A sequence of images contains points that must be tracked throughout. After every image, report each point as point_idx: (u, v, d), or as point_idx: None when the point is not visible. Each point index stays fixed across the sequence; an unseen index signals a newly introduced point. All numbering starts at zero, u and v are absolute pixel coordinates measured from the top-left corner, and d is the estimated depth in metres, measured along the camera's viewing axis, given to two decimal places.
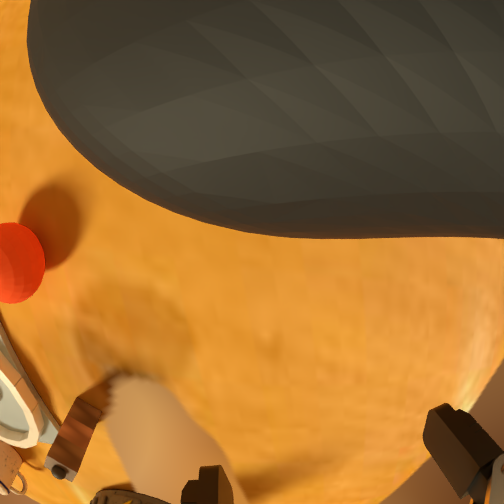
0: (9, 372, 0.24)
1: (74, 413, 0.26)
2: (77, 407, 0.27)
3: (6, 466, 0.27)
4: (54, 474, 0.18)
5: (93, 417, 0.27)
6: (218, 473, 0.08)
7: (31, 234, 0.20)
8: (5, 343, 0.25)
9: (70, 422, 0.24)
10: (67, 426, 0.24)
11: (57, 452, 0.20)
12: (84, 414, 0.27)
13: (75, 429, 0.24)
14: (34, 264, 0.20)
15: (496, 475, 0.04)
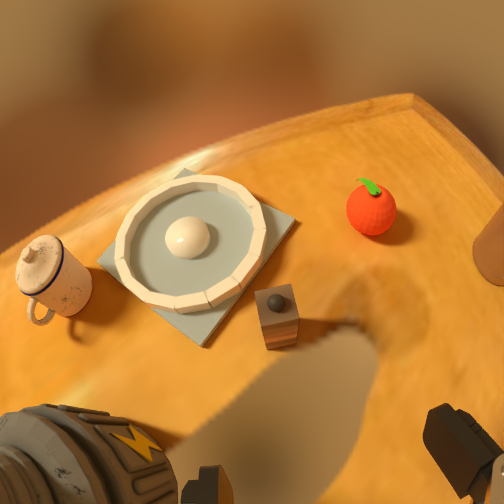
0: (262, 249, 0.38)
1: None
2: None
3: (70, 289, 0.35)
4: (278, 296, 0.26)
5: None
6: (218, 473, 0.08)
7: None
8: (280, 239, 0.41)
9: None
10: None
11: None
12: None
13: None
14: (393, 221, 0.37)
15: (496, 475, 0.04)
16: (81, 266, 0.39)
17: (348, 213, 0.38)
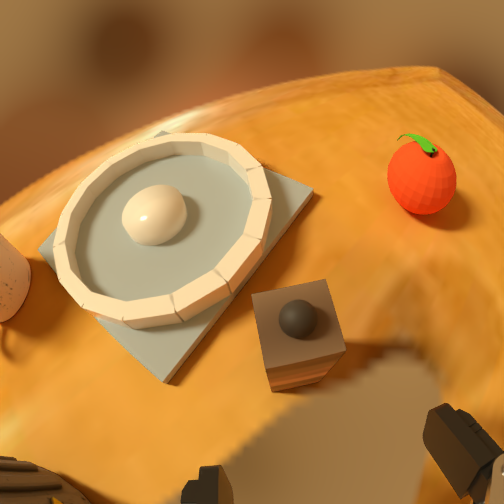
0: (266, 230, 0.24)
1: None
2: None
3: None
4: (304, 304, 0.12)
5: None
6: (218, 473, 0.08)
7: None
8: (292, 217, 0.27)
9: None
10: None
11: None
12: None
13: None
14: (453, 193, 0.23)
15: (496, 475, 0.04)
16: (15, 255, 0.25)
17: (392, 180, 0.25)
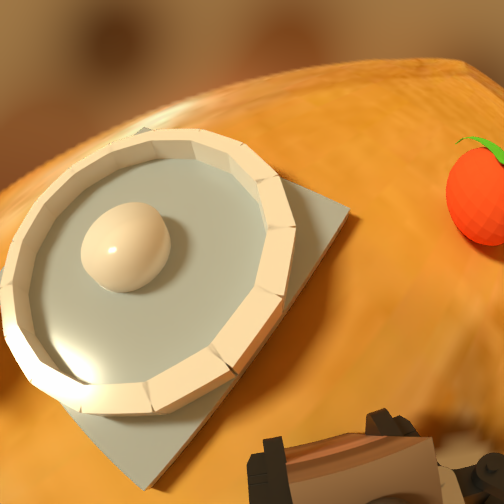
0: (288, 277, 0.16)
1: None
2: None
3: None
4: None
5: None
6: (282, 443, 0.09)
7: None
8: (323, 251, 0.18)
9: None
10: None
11: None
12: None
13: None
14: None
15: None
16: None
17: (457, 200, 0.16)
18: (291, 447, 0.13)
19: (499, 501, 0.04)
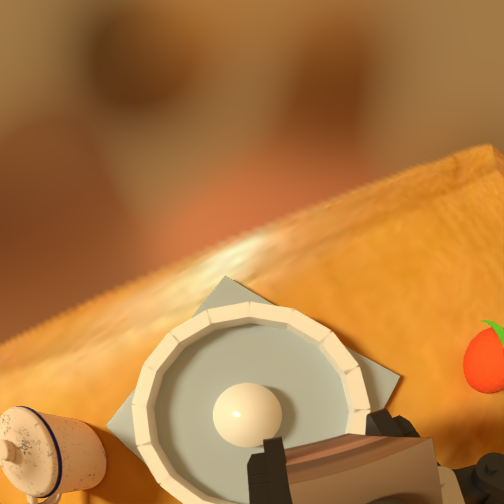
0: None
1: None
2: None
3: (80, 481, 0.18)
4: None
5: None
6: (282, 443, 0.09)
7: None
8: None
9: None
10: None
11: None
12: None
13: None
14: None
15: None
16: (86, 441, 0.22)
17: (470, 372, 0.22)
18: (291, 447, 0.13)
19: (499, 501, 0.04)
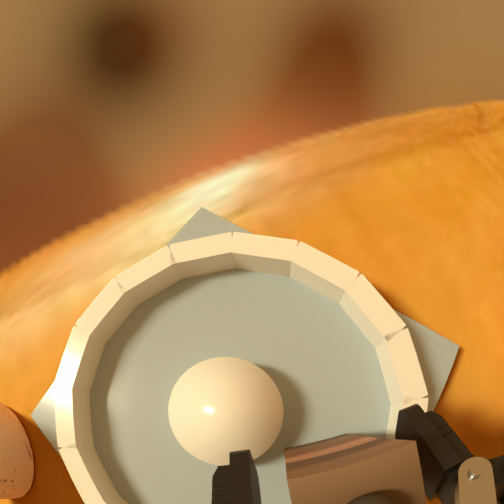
0: None
1: None
2: None
3: None
4: None
5: None
6: (248, 457, 0.09)
7: None
8: None
9: None
10: None
11: None
12: None
13: None
14: None
15: (463, 482, 0.05)
16: (1, 433, 0.12)
17: None
18: (291, 447, 0.14)
19: None
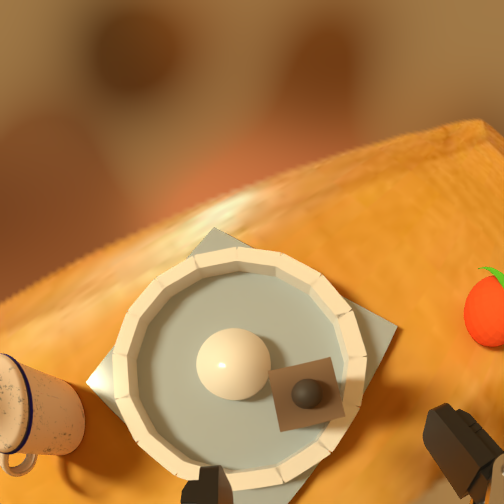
0: None
1: None
2: None
3: (53, 439, 0.18)
4: (312, 385, 0.14)
5: None
6: (218, 473, 0.08)
7: None
8: None
9: None
10: None
11: None
12: None
13: None
14: None
15: (496, 475, 0.04)
16: (64, 396, 0.21)
17: (472, 321, 0.22)
18: None
19: None
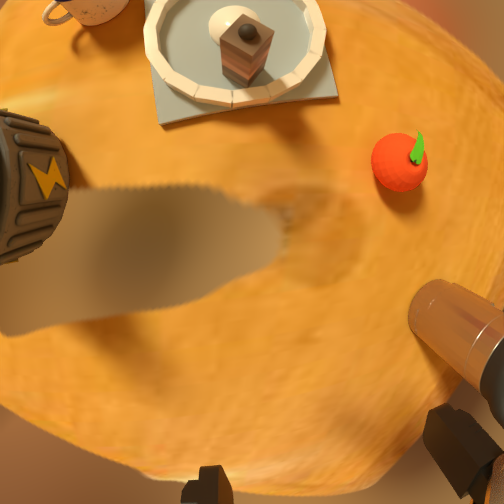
0: (281, 93, 0.30)
1: (263, 64, 0.28)
2: (262, 67, 0.29)
3: (95, 6, 0.24)
4: (252, 27, 0.20)
5: (251, 81, 0.29)
6: (218, 473, 0.08)
7: None
8: (307, 98, 0.32)
9: (264, 59, 0.27)
10: (265, 56, 0.26)
11: (268, 41, 0.22)
12: (256, 73, 0.29)
13: (260, 63, 0.26)
14: (401, 191, 0.32)
15: (496, 475, 0.04)
16: None
17: (379, 142, 0.31)
18: None
19: None
